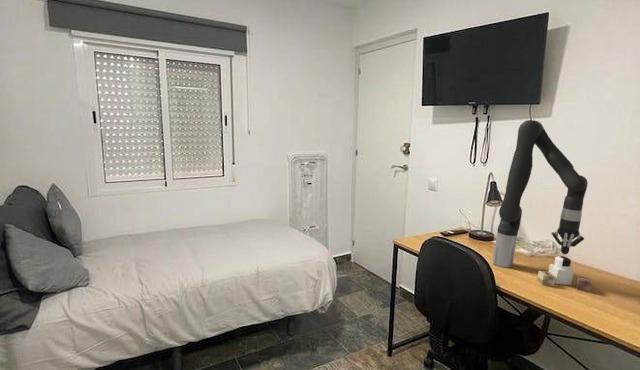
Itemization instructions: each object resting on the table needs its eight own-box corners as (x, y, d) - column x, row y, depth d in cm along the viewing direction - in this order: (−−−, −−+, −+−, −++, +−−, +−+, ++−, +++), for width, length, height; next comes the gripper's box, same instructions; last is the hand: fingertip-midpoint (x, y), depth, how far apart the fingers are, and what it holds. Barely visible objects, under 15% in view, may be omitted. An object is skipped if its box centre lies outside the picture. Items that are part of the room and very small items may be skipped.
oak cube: (541, 285, 156) (543, 275, 155) (537, 280, 161) (538, 270, 160) (553, 286, 155) (555, 276, 154) (548, 281, 160) (550, 271, 159)
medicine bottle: (562, 278, 164) (566, 255, 162) (571, 285, 157) (576, 261, 155) (547, 277, 165) (551, 254, 163) (555, 283, 158) (560, 259, 156)
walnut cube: (576, 289, 153) (578, 279, 152) (575, 285, 157) (577, 275, 156) (589, 293, 150) (592, 282, 150) (589, 289, 154) (591, 278, 154)
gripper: (556, 218, 155) (549, 254, 158) (591, 222, 150) (584, 259, 153) (551, 214, 161) (545, 248, 164) (584, 218, 157) (578, 253, 160)
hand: (564, 253), depth 159 cm, fingers closed
